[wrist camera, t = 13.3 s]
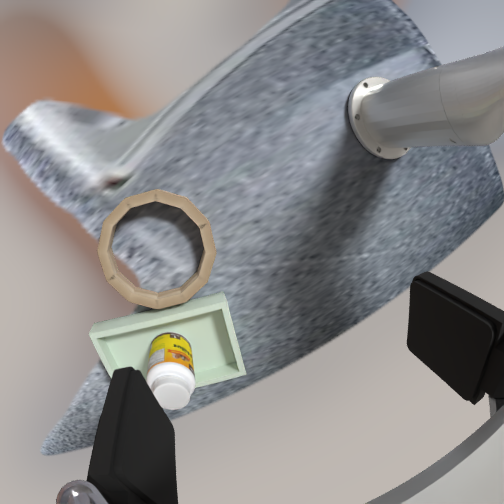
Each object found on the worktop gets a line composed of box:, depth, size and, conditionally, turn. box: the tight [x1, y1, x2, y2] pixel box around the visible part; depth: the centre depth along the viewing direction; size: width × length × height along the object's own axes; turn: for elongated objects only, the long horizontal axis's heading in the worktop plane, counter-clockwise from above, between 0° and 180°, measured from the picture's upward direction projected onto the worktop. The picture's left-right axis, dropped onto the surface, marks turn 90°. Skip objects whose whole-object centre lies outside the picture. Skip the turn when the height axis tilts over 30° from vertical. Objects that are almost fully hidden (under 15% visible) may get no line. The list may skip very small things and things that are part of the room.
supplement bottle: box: [146, 331, 196, 410], centre depth 31 cm, size 6×6×10 cm
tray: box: [89, 292, 246, 388], centre depth 35 cm, size 18×12×3 cm, turn 102°
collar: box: [97, 189, 216, 309], centre depth 32 cm, size 13×13×2 cm
